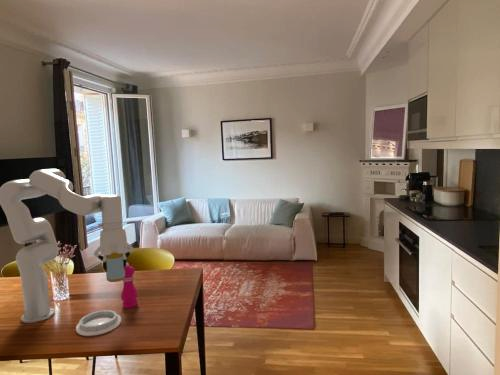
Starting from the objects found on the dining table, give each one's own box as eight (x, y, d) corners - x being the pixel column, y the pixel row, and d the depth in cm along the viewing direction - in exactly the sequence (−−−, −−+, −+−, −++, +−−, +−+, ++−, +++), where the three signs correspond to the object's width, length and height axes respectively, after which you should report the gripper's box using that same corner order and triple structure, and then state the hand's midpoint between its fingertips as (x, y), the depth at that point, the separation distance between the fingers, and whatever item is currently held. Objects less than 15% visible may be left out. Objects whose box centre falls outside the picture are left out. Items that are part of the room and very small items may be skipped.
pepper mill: (133, 309, 158) (129, 265, 155) (118, 308, 159) (115, 265, 157) (141, 302, 165) (138, 260, 163) (127, 301, 166) (123, 260, 164)
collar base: (66, 330, 141) (66, 323, 140) (102, 312, 155) (102, 305, 155) (95, 339, 132) (94, 332, 132) (130, 320, 147) (129, 313, 147)
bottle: (119, 275, 149) (117, 240, 147) (128, 278, 144) (126, 242, 143) (103, 280, 143) (101, 244, 141) (112, 284, 139) (110, 246, 137)
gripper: (88, 229, 135) (91, 275, 137) (135, 225, 141) (138, 269, 143) (89, 226, 142) (92, 269, 143) (134, 222, 148) (136, 263, 150)
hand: (115, 269), depth 143 cm, fingers closed on bottle, 5 cm apart
